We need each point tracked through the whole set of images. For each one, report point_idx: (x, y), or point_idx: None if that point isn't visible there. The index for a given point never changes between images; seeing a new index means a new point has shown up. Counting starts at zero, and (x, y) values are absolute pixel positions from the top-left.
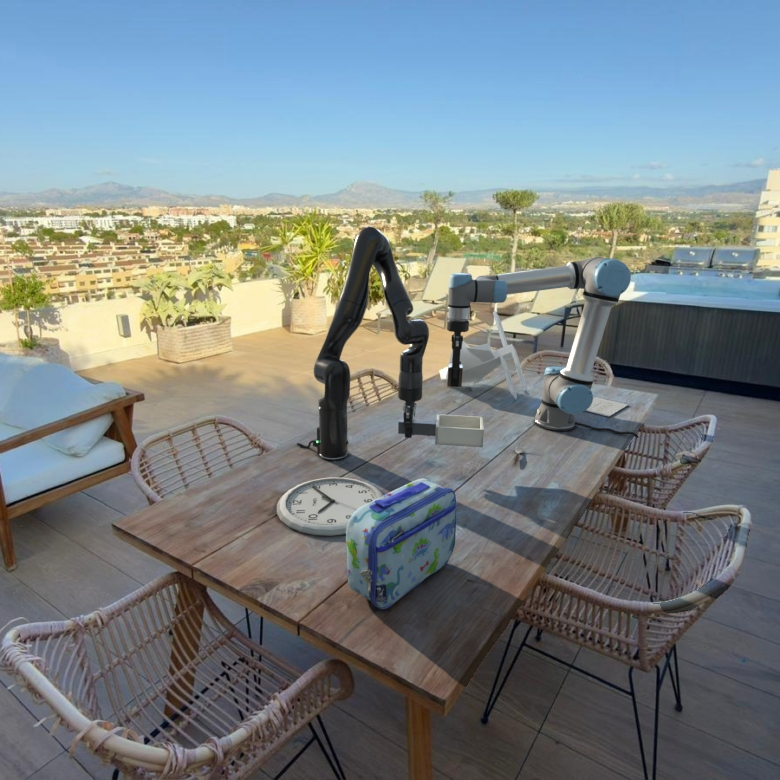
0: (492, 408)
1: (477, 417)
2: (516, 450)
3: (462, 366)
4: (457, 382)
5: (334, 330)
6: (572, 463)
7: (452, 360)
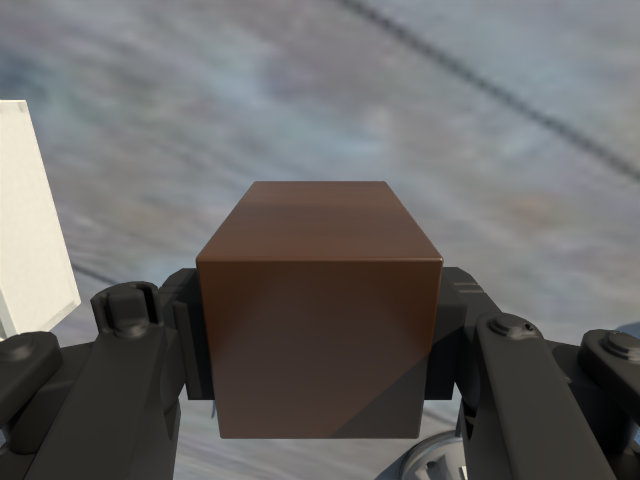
0: (627, 321)
1: (4, 330)
2: None
3: (315, 438)
4: None
5: None
6: (182, 467)
7: (481, 354)
